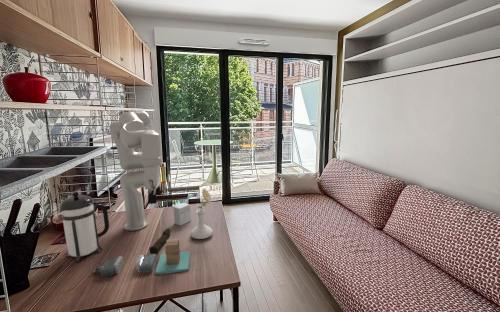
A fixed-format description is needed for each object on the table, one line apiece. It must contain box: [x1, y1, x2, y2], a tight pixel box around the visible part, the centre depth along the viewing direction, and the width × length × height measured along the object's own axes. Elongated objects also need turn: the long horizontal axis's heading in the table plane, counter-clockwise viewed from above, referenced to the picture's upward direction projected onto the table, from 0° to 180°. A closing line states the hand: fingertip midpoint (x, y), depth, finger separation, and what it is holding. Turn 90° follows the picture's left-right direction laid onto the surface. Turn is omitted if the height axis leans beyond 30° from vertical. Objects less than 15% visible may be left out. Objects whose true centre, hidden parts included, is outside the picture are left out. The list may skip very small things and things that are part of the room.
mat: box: [154, 251, 191, 275], centre depth 110 cm, size 13×13×1 cm
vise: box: [92, 253, 158, 277], centre depth 107 cm, size 8×23×4 cm, turn 99°
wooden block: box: [165, 238, 181, 265], centre depth 109 cm, size 5×5×9 cm
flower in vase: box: [190, 188, 213, 240], centre depth 132 cm, size 13×11×25 cm
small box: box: [173, 202, 192, 226], centre depth 149 cm, size 8×6×10 cm
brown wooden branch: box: [148, 227, 171, 255], centre depth 126 cm, size 19×4×5 cm, turn 172°
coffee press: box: [57, 191, 110, 263], centre depth 117 cm, size 17×16×30 cm
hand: (154, 199), depth 112 cm, fingers open, 9 cm apart
